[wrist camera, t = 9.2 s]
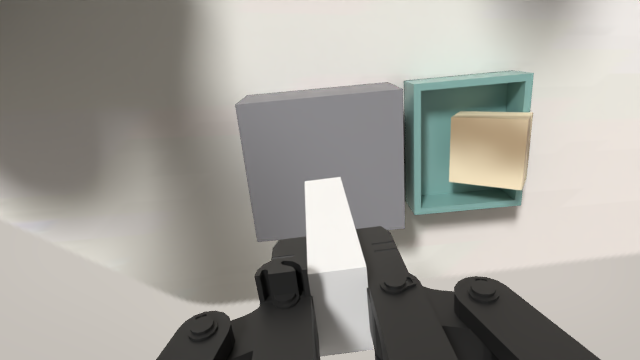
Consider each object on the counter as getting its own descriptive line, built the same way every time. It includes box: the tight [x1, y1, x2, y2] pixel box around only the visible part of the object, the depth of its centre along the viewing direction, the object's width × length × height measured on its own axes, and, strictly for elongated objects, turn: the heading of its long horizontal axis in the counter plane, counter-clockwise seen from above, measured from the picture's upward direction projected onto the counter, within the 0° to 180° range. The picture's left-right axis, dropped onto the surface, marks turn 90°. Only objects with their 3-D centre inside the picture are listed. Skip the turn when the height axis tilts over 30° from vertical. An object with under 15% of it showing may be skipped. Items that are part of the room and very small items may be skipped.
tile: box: [449, 111, 533, 190], centre depth 34 cm, size 6×6×3 cm
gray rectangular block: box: [235, 82, 405, 242], centre depth 34 cm, size 12×13×6 cm
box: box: [404, 71, 534, 215], centre depth 35 cm, size 12×10×4 cm
